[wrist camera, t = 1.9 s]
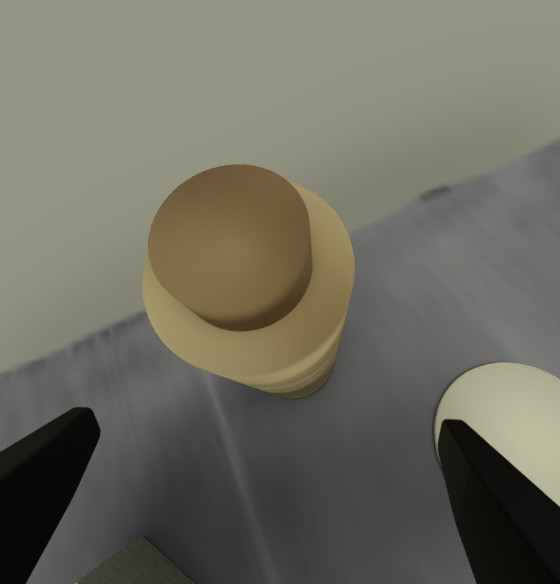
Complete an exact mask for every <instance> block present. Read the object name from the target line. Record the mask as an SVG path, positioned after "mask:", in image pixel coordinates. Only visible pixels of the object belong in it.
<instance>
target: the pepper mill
mask: <svg viewBox="0 0 560 584" xmlns="http://www.w3.org/2000/svg"><path fill="white" fill-rule="evenodd" d="M354 271H355V262H354V254H353V248H352V245H351V241H350V237H349V235H348V233H347V231H346V228H345V226H344V225H343V223H342V221H341V220H340V218H339V217H338V215H337V214H336V213H335V212H334V211H333V209H332V208H331V207H330V206H329V205H328V204H327V203H326V202H325V201H324V200H323V199H321V198H320V197H319V196H317V195H316V194H314V193H313V192H311V191H310V190H308V189H306V188H304V187H302V186H300V185H297V184H294V183H292V182H289V181H287V180H286V179H284V178H283V177H281V176H280V175H278V174H276V173H274V172H272V171H270V170H267V169H264V168H261V167H257V166H252V165H225V166H220V167H216V168H212V169H209V170H206V171H204V172H201V173H199V174H197V175H195V176H193V177H192V178H190V179H188V180H186V181H185V182H184V183H182V184H181V185H180V186H178V187H177V188H176V189H175V190H174V191H173V192H172V193H171V194H170V195H169V196H168V197H167V199H166V200H165V201H164V202H163V204H162V205H161V207H160V208H159V210H158V212H157V213H156V215H155V218H154V220H153V223H152V225H151V229H150V233H149V239H148V255H147V258H146V262H145V266H144V272H143V281H142V282H143V298H144V304H145V308H146V311H147V315H148V318H149V320H150V322H151V324H152V326H153V328H154V330H155V332H156V333H157V334H158V336H159V337H160V339H161V340H162V341H163V342H164V344H165V345H166V346H167V347H168V348H169V349H170V350H171V351H172V352H174V353H175V354H176V355H177V356H179V357H180V358H181V359H183V360H184V361H186V362H188V363H190V364H191V365H193V366H195V367H198V368H200V369H203V370H206V371H208V372H211V373H214V374H217V375H220V376H222V377H225V378H228V379H231V380H234V381H237V382H239V383H242V384H245V385H248V386H251V387H254V388H256V389H259V390H262V391H265V392H268V393H271V394H273V395H276V396H279V397H282V398H286V399H300V398H305V397H308V396H310V395H312V394H314V393H316V392H317V391H318V390H320V389H321V388H322V387H323V386H324V385H325V383H326V382H327V381H328V379H329V377H330V375H331V373H332V370H333V366H334V362H335V358H336V354H337V350H338V346H339V342H340V338H341V334H342V330H343V326H344V321H345V317H346V313H347V309H348V305H349V301H350V297H351V293H352V288H353V282H354Z"/></svg>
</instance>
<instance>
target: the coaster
mask: <svg viewBox="0 0 560 584" xmlns="http://www.w3.org/2000/svg"><path fill="white" fill-rule="evenodd" d="M444 419H460V420H463V421H464V422H466V423H467V424H468V425H469V426H470V427H471V428H472V429H473V430H475V431H476V432H477V433H478V434H479V435H480V436H481V437H482V438H484V439H485V440H486V441H487V442H488V443H489V444H490V445H491V446H492V447H494V448H495V449H496V450H497V451H498V452H499V453H500V454H501V455H503V456H504V457H505V458H506V459H507V460H508V461H509V462H510V463H512V464H513V465H514V466H515V467H516V468H517V469H518V470H519V471H520V472H522V473H523V474H524V475H525V476H526V477H527V478H528V479H529V480H531V481H532V482H533V483H534V484H535V485H536V486H537V487H538V488H539V489H541V490H542V491H543V492H544V493H545V494H546V495H547V496H548V497H550V498H551V499H552V500H553V501H554V502H555V503H556V504H557V505H559V506H560V379H558V378H557V377H555V376H553V375H551V374H549V373H547V372H545V371H543V370H540V369H538V368H534V367H531V366H528V365H523V364H518V363H507V362H505V363H492V364H487V365H483V366H480V367H477V368H474V369H471V370H469V371H467V372H465V373H464V374H462V375H461V376H459V377H458V378H457V379H456V380H455V381H453V382H452V383H451V384H450V386H449V387H448V388H447V389H446V391H445V392H444V394H443V396H442V397H441V399H440V401H439V404H438V407H437V409H436V414H435V419H434V443H435V449H436V453H437V457H438V460H439V463H440V465H441V462H440V458H439V454H438V439H439V434H440V429H441V424H442V421H443V420H444ZM441 468H442V466H441Z"/></svg>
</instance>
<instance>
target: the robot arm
mask: <svg viewBox="0 0 560 584" xmlns="http://www.w3.org/2000/svg"><path fill="white" fill-rule="evenodd" d="M99 438H100V427H99V424H98V422H97V420H96V417H95V415H94V412H93V410H92V409H91V408H88V407H75V408H72V409H71V410H69V411H67V412H66V413H64V414H62V415H61V416H59V417H57V418H56V419H54V420H52V421H51V422H49V423H47V424H46V425H44V426H42V427H41V428H39V429H38V430H36V431H34V432H33V433H31V434H29V435H28V436H26V437H24V438H23V439H21V440H19V441H18V442H16V443H14V444H13V445H11V446H9V447H8V448H6V449H4V450H3V451H1V452H0V584H26V582H27V581H28V579H29V577H30V575H31V573H32V571H33V570H34V568H35V566H36V564H37V562H38V560H39V559H40V557H41V555H42V553H43V551H44V550H45V548H46V546H47V544H48V542H49V540H50V539H51V537H52V535H53V533H54V531H55V530H56V528H57V526H58V524H59V522H60V520H61V519H62V517H63V515H64V513H65V511H66V510H67V508H68V506H69V504H70V502H71V500H72V498H73V496H74V494H75V492H76V490H77V488H78V486H79V483H80V481H81V479H82V477H83V474H84V472H85V470H86V467H87V465H88V463H89V461H90V458H91V456H92V454H93V452H94V449H95V447H96V445H97V443H98V440H99ZM438 454H439V458H440V462H441V466H442V470H443V474H444V478H445V483H446V487H447V491H448V495H449V499H450V503H451V507H452V511H453V515H454V519H455V523H456V526H457V529H458V532H459V535H460V538H461V541H462V543H463V546H464V549H465V552H466V555H467V558H468V560H469V563H470V566H471V569H472V572H473V575H474V577H475V580H476V583H477V584H560V506H559V505H557V504H556V503H555V502H554V501H553V500H552V499H551V498H550V497H548V496H547V495H546V494H545V493H544V492H543V491H542V490H541V489H539V488H538V487H537V486H536V485H535V484H534V483H533V482H532V481H531V480H529V479H528V478H527V477H526V476H525V475H524V474H523V473H522V472H520V471H519V470H518V469H517V468H516V467H515V466H514V465H513V464H512V463H510V462H509V461H508V460H507V459H506V458H505V457H504V456H503V455H501V454H500V453H499V452H498V451H497V450H496V449H495V448H494V447H492V446H491V445H490V444H489V443H488V442H487V441H486V440H485V439H484V438H482V437H481V436H480V435H479V434H478V433H477V432H476V431H475V430H473V429H472V428H471V427H470V426H469V425H468V424H467V423H466V422H464V421H463V420H460V419H444V420H443V421H442V424H441V429H440V434H439V439H438Z"/></svg>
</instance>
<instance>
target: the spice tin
mask: <svg viewBox="0 0 560 584" xmlns="http://www.w3.org/2000/svg"><path fill="white" fill-rule="evenodd" d="M75 584H195V583H194V582H193V581H192V580H191V579H190V578H189V577H188V576H186V575H185V574H184V573H183V572H182V571H181V570H180V569H179V568H178V567H176V566H175V565H174V564H173V563H172V562H171V561H170V560H169V559H168V558H166V557H165V556H164V555H163V554H162V553H161V552H160V551H159V550H158V549H157V548H155V547H154V546H153V545H152V544H151V543H150V542H149V541H148V540H147V539H145V538H144V537H143V536H142V537H140V538H139V539H137V540H136V541H134V542H133V543H131V544H130V545H129V546H127V547H126V548H124V549H123V550H121V551H120V552H118V553H117V554H116V555H114V556H113V557H111V558H110V559H108V560H107V561H105V562H104V563H102V564H101V565H100V566H98V567H97V568H95V569H94V570H92V571H91V572H89V573H88V574H87V575H85V576H84V577H82V578H81V579H79V580H78V581H76V583H75Z"/></svg>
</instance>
